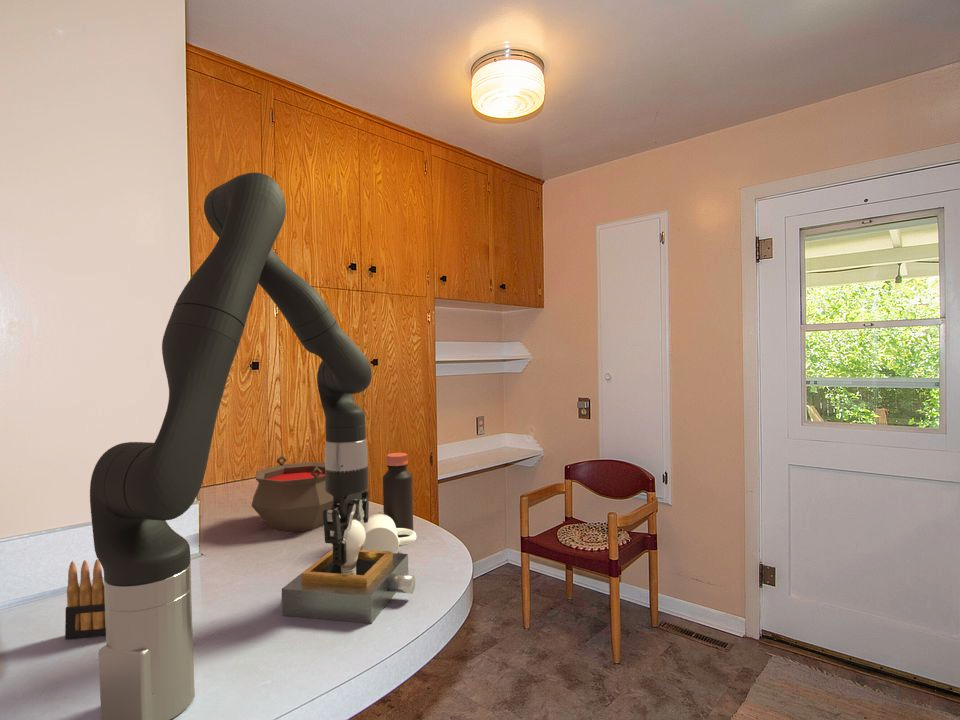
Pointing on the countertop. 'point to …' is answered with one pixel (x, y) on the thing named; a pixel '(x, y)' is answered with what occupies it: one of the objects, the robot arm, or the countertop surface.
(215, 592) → the countertop surface
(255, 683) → the countertop surface
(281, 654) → the countertop surface
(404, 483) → the bottle
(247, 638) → the countertop surface
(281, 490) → the brown cauldron
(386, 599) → the grey shallow box
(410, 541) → the mug
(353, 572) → the lightbulb
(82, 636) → the ammunition clip
